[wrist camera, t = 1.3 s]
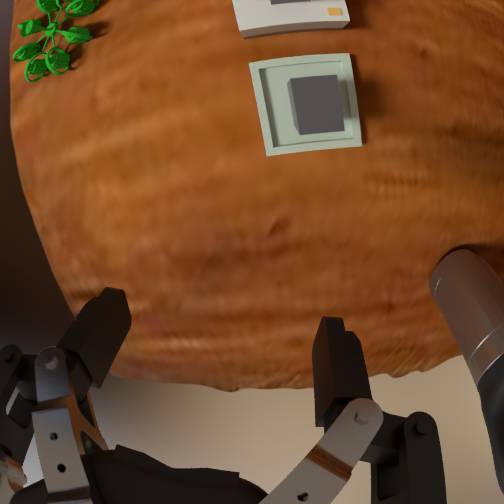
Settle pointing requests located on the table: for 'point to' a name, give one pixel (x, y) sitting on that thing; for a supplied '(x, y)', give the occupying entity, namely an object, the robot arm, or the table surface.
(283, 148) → the sage tray
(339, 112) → the grey rectangular prism
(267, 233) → the table surface
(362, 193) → the table surface
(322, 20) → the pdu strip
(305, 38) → the table surface
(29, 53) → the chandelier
